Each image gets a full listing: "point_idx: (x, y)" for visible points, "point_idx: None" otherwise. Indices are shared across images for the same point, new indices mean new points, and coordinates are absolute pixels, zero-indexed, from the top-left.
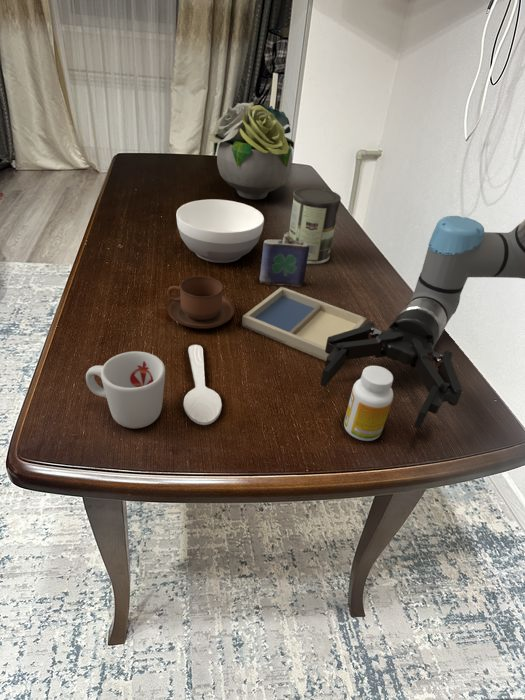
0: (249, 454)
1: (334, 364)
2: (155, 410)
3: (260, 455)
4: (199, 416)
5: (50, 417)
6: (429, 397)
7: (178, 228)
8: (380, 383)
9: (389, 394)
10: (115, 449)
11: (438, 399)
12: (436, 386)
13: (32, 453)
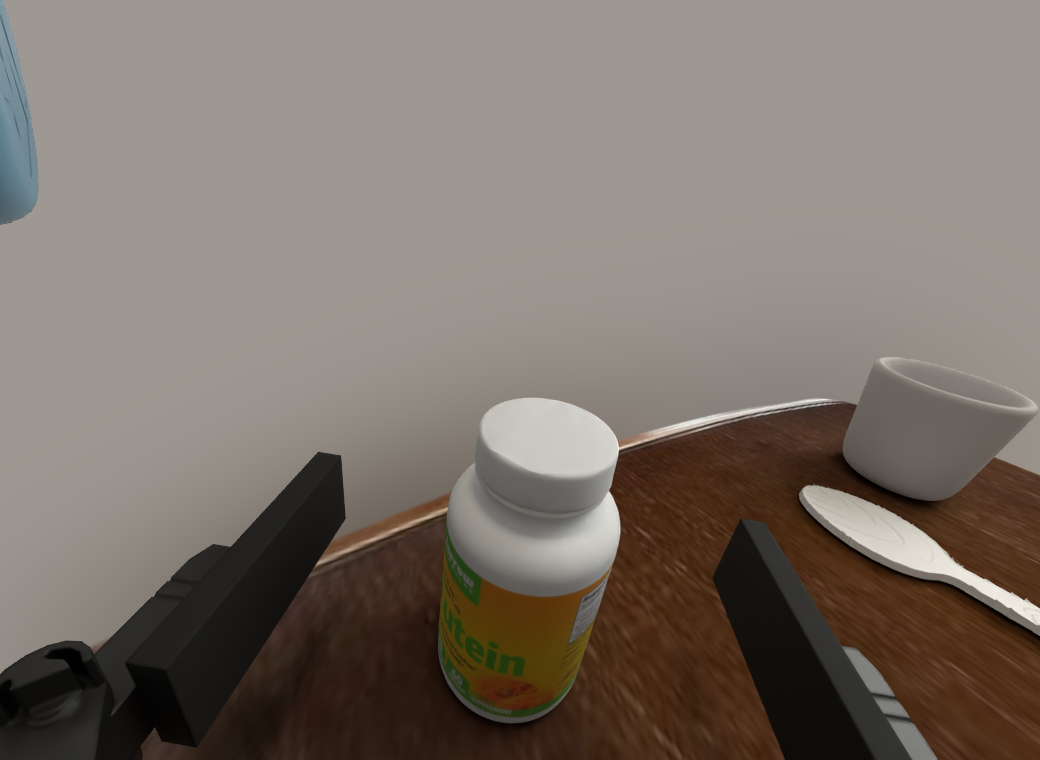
0: (680, 470)
1: (772, 575)
2: (858, 435)
3: (664, 473)
4: (828, 495)
5: None
6: (260, 538)
7: None
8: (522, 401)
9: (469, 477)
10: (812, 429)
11: (180, 596)
12: (145, 659)
13: (852, 407)
